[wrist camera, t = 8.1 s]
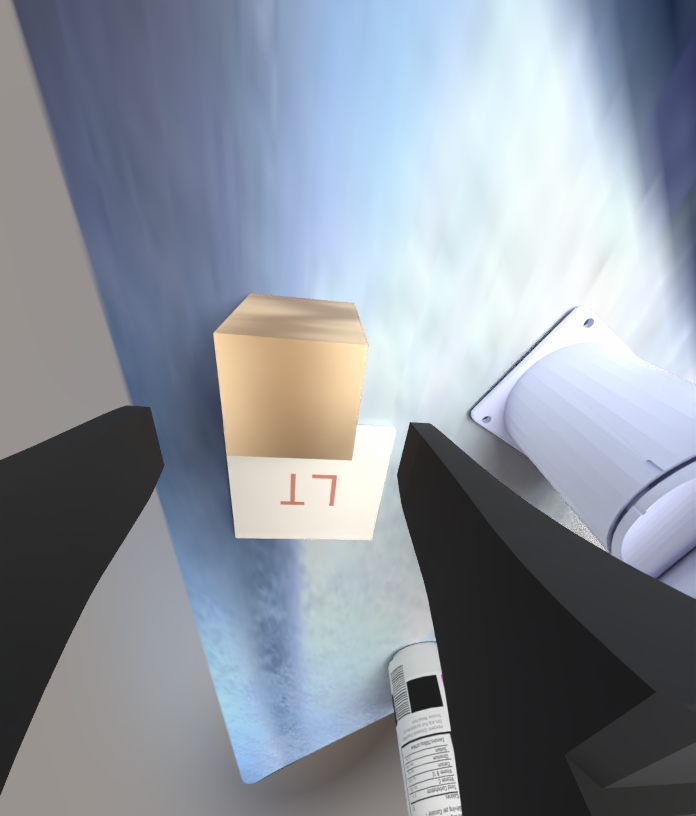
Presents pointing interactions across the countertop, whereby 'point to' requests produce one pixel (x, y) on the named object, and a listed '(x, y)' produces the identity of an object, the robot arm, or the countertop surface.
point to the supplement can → (424, 732)
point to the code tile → (312, 492)
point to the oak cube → (291, 377)
